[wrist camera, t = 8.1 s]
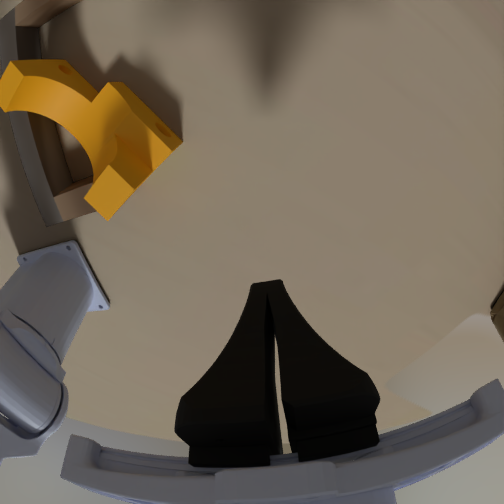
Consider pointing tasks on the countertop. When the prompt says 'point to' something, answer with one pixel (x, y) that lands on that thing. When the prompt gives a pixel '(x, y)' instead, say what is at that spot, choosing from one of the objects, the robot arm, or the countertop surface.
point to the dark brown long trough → (41, 119)
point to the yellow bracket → (93, 125)
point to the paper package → (499, 315)
